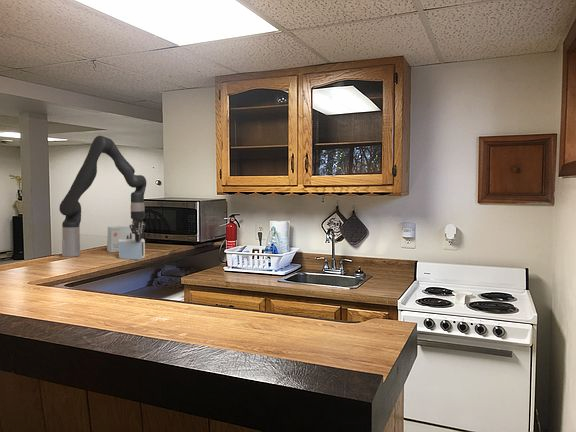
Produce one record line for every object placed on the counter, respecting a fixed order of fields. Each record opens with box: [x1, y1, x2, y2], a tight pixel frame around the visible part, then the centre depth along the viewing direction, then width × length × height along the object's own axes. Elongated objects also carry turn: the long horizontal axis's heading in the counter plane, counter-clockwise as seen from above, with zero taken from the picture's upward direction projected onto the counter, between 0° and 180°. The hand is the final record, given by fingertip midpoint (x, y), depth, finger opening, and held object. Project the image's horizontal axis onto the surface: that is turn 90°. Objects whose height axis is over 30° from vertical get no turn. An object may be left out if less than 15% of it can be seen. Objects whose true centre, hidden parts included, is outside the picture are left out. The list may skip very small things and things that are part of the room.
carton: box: [119, 238, 146, 259], centre depth 263 cm, size 14×10×10 cm
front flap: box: [118, 232, 143, 261], centre depth 254 cm, size 14×1×16 cm, turn 81°
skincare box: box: [106, 225, 137, 253], centre depth 286 cm, size 21×5×16 cm, turn 143°
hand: (138, 240), depth 253 cm, fingers closed
